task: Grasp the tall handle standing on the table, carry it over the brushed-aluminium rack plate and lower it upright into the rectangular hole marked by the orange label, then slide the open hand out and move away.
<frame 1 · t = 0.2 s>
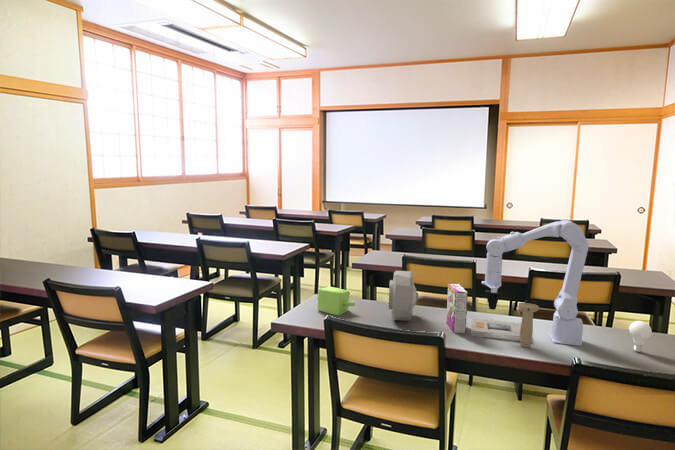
hand: (491, 306, 165), 10 cm above the table, tool pointing down, fingers open, 7 cm apart
gearbox: (336, 311, 187), on the table
lightbulb: (637, 352, 149), on the table
rack plate: (498, 332, 165), on the table
handle: (525, 346, 153), on the table
candy bar box: (455, 328, 169), on the table
dial: (402, 319, 178), on the table
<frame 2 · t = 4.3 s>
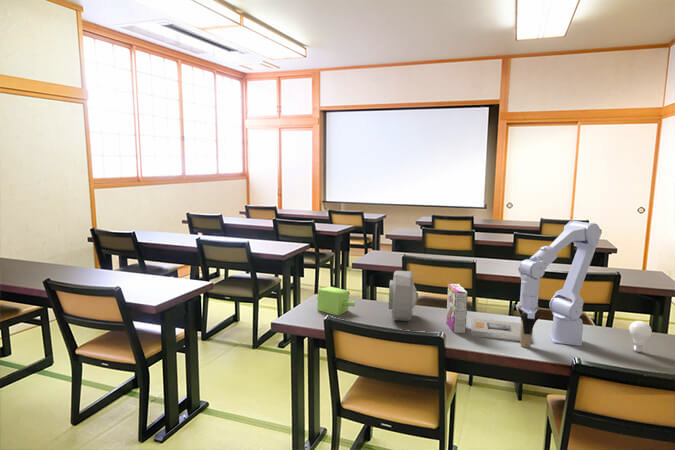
hand: (526, 331, 152), 5 cm above the table, tool pointing down, fingers closed on handle, 4 cm apart
handle: (525, 346, 153), on the table, touching gripper
everything else where it was.
when the fingers open (6 cm above the table, at t = 7.9 s): handle stays where it is, resting in rack plate.
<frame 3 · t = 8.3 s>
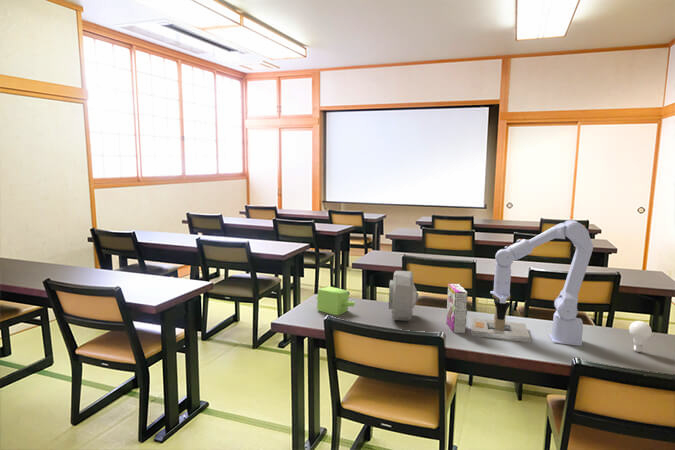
hand: (499, 316, 164), 6 cm above the table, tool pointing down, fingers open, 7 cm apart
handle: (498, 332, 165), resting in rack plate
everything else where it was.
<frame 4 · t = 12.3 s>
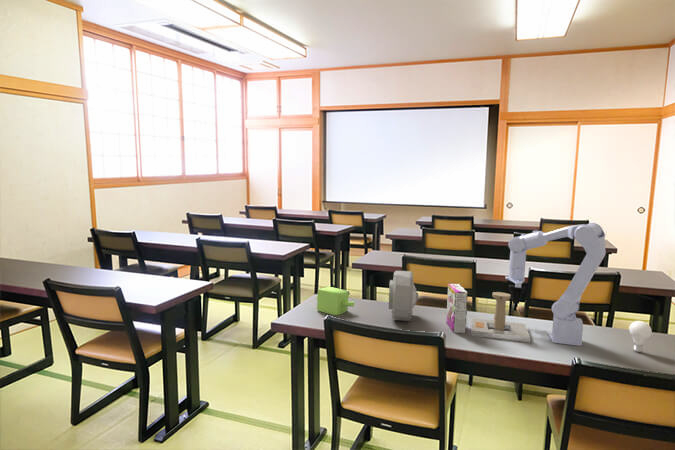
hand: (514, 300, 171), 10 cm above the table, tool pointing down, fingers open, 7 cm apart
nothing on the table moved.
at the end: handle 0.0 cm off-centre on the rack plate, point 0.0 cm above the rack plate's base; handle tilted 0°; the gripper is holding nothing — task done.
